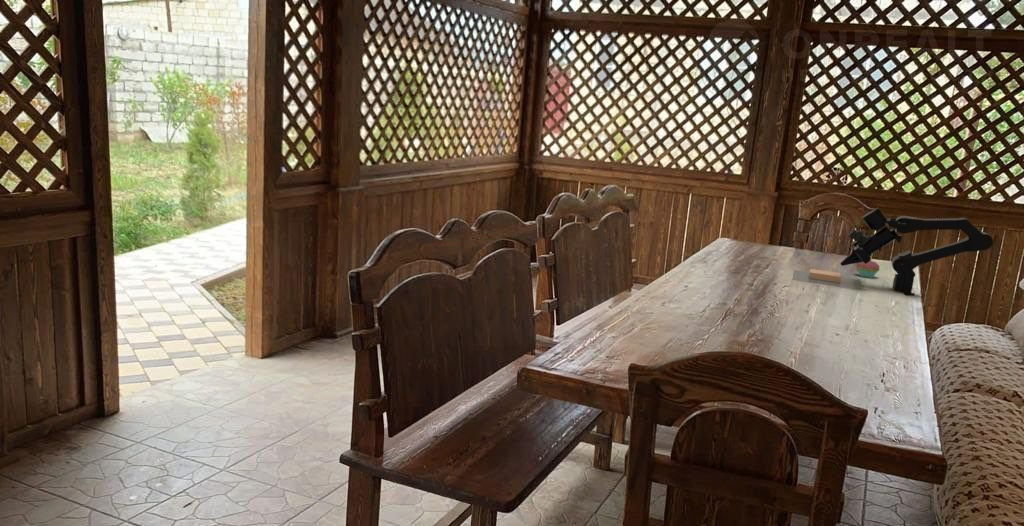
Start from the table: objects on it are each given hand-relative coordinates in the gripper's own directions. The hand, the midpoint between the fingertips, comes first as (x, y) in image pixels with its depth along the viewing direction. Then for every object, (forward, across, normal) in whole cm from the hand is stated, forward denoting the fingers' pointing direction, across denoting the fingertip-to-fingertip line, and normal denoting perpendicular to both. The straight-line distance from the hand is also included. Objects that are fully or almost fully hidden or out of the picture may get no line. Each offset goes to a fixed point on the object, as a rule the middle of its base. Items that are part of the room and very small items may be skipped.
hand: (841, 264), depth 278 cm
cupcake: (-2, -19, +13) cm, 23 cm away
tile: (+3, 0, +4) cm, 5 cm away
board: (+8, 0, +2) cm, 8 cm away
